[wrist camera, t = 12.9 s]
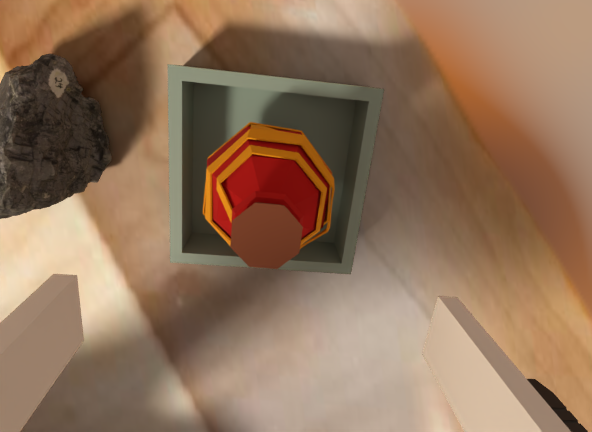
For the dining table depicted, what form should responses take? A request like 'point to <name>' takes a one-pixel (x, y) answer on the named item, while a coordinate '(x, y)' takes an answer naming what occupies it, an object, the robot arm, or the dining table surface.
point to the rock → (47, 136)
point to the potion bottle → (268, 194)
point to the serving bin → (276, 112)
